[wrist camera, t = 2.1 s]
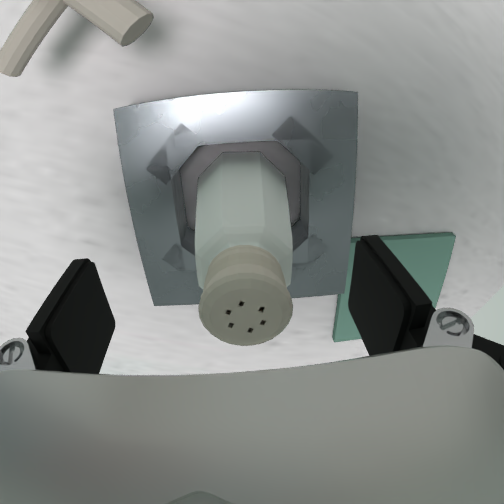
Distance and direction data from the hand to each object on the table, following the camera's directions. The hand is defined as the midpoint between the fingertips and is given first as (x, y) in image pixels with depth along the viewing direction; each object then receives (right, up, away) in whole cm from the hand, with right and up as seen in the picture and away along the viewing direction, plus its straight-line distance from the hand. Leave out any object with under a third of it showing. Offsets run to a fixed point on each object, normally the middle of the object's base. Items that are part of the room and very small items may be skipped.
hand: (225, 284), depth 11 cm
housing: (0, +5, +8) cm, 9 cm away
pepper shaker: (0, +5, +8) cm, 9 cm away
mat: (+12, -2, +12) cm, 17 cm away
